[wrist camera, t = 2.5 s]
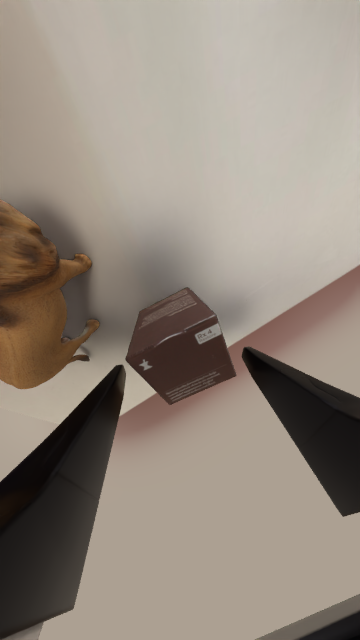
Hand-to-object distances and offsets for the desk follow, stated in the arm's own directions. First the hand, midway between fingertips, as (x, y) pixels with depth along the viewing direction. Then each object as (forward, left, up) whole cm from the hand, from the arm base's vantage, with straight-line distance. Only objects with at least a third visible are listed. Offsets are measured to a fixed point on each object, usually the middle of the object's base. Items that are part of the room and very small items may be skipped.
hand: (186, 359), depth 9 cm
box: (0, 0, -7) cm, 7 cm away
